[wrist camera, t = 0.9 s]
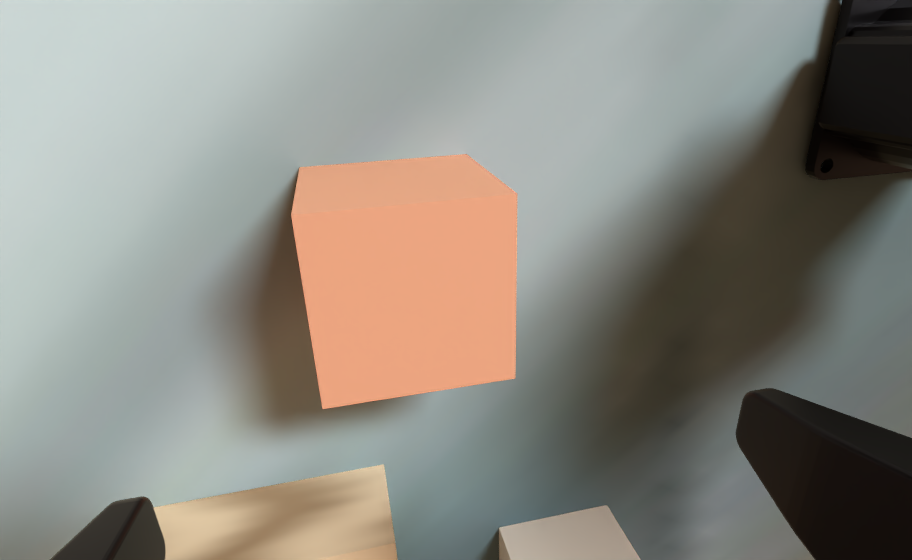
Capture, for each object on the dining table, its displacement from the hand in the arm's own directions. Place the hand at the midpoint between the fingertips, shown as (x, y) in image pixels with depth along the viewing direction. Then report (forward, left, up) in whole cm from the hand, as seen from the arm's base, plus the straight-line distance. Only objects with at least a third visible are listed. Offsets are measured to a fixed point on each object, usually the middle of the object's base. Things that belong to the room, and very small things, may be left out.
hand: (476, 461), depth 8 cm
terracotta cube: (0, 0, -11) cm, 11 cm away
